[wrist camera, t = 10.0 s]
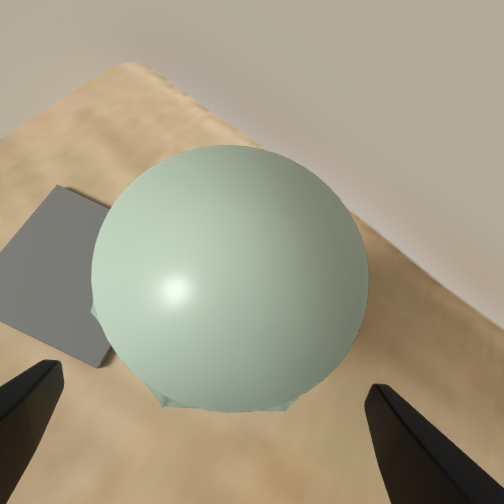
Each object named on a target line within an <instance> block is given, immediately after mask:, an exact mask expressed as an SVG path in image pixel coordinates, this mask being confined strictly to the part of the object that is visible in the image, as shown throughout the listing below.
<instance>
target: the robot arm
mask: <svg viewBox="0 0 504 504" xmlns="http://www.w3.org/2000/svg"><path fill="white" fill-rule="evenodd" d="M63 388H64V377H63V370H62V364H61V362H60V361H58V360H42V361H40V362H39V363H37V364H35V365H34V366H32V367H31V368H29V369H27V370H26V371H24V372H23V373H21V374H19V375H18V376H16V377H15V378H13V379H12V380H10V381H8V382H7V383H5V384H4V385H2V386H0V504H6V503H7V501H8V500H9V498H10V496H11V494H12V492H13V491H14V489H15V487H16V485H17V484H18V482H19V480H20V478H21V476H22V475H23V473H24V471H25V469H26V468H27V466H28V464H29V462H30V460H31V459H32V457H33V455H34V453H35V451H36V449H37V447H38V445H39V443H40V441H41V438H42V436H43V434H44V432H45V429H46V427H47V425H48V423H49V420H50V418H51V416H52V414H53V411H54V409H55V407H56V404H57V402H58V400H59V398H60V395H61V393H62V391H63ZM364 407H365V413H366V417H367V421H368V426H369V430H370V434H371V438H372V442H373V446H374V450H375V455H376V458H377V462H378V466H379V469H380V472H381V475H382V478H383V481H384V484H385V487H386V490H387V493H388V496H389V499H390V501H391V504H504V488H503V487H502V486H501V485H500V484H499V483H497V482H496V481H495V480H494V479H493V478H492V477H491V476H490V475H489V474H487V473H486V472H485V471H484V470H483V469H482V468H481V467H480V466H478V465H477V464H476V463H475V462H474V461H473V460H472V459H471V458H469V457H468V456H467V455H466V454H465V453H464V452H463V451H462V450H460V449H459V448H458V447H457V446H456V445H455V444H454V443H453V442H451V441H450V440H449V439H448V438H447V437H446V436H445V435H444V434H442V433H441V432H440V431H439V430H438V429H437V428H436V427H435V426H433V425H432V424H431V423H430V422H429V421H428V420H427V419H426V418H425V417H423V416H422V415H421V414H420V413H419V412H418V411H417V410H416V409H414V408H413V407H412V406H411V405H410V404H409V403H408V402H407V401H405V400H404V399H403V398H402V397H401V396H400V395H399V394H398V393H396V392H395V391H394V390H393V389H392V388H391V387H390V386H388V385H386V384H373V385H372V386H371V389H370V391H369V393H368V396H367V398H366V400H365V406H364Z"/></svg>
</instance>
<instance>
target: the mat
mask: <svg viewBox="0 0 504 504" xmlns="http://www.w3.org/2000/svg"><path fill="white" fill-rule="evenodd" d="M109 210H110V209H108V208H106V207H104V206H102V205H100V204H98V203H95V202H93V201H91V200H89V199H87V198H85V197H83V196H81V195H79V194H76V193H74V192H72V191H70V190H68V189H66V188H64V187H62V186H60V185H57V186H56V187H55V188H54V189H53V190H52V191H51V193H50V194H49V195H48V196H47V197H46V199H45V200H44V201H43V202H42V203H41V205H40V206H39V207H38V208H37V209H36V211H35V212H34V213H33V214H32V215H31V217H30V218H29V219H28V220H27V221H26V223H25V224H24V225H23V226H22V227H21V229H20V230H19V231H18V232H17V233H16V235H15V236H14V237H13V238H12V239H11V241H10V242H9V243H8V244H7V245H6V246H5V248H4V249H3V250H2V251H1V252H0V321H1V322H3V323H5V324H7V325H9V326H11V327H13V328H15V329H17V330H19V331H21V332H23V333H25V334H27V335H29V336H31V337H33V338H35V339H38V340H40V341H42V342H44V343H46V344H48V345H50V346H52V347H54V348H56V349H58V350H60V351H62V352H64V353H66V354H68V355H70V356H72V357H74V358H76V359H79V360H81V361H83V362H85V363H87V364H89V365H91V366H93V367H95V368H100V367H101V365H102V363H103V362H104V360H105V358H106V357H107V355H108V353H109V352H110V350H111V348H112V346H111V344H110V343H109V341H108V339H107V338H106V335H105V333H104V331H103V329H102V326H101V324H100V323H99V322H98V320H97V319H96V318H95V316H94V315H93V314H92V313H91V309H92V305H93V292H92V284H91V274H92V259H93V254H94V248H95V244H96V241H97V237H98V234H99V231H100V228H101V226H102V224H103V222H104V220H105V218H106V216H107V214H108V212H109Z"/></svg>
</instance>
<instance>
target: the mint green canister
mask: <svg viewBox="0 0 504 504" xmlns="http://www.w3.org/2000/svg"><path fill="white" fill-rule="evenodd" d="M91 284H92V292H93V305H92V309H91V313H92V314H93V315H94V316H95V318H96V319H97V320H98V322H99V323H100V324H101V326H102V329H103V331H104V333H105V335H106V338H107V339H108V341H109V343H110V344H111V346H112V347H113V349H114V350H115V352H116V353H117V355H118V356H119V358H120V359H121V360H122V361H123V362H124V363H125V364H126V366H127V367H128V368H129V369H130V370H131V371H132V372H133V373H134V374H135V375H136V376H138V377H139V378H140V379H141V380H142V381H143V382H144V383H145V384H146V385H147V387H148V388H149V389H150V391H151V392H152V393H153V394H154V396H155V397H156V398H157V400H158V401H159V402H160V404H161V405H162V407H163V408H164V407H173V408H199V409H203V410H208V411H217V412H226V413H233V412H251V411H284V412H286V410H287V409H288V408H289V407H290V406H291V405H292V404H293V403H294V402H295V401H296V400H297V398H298V397H299V396H300V395H302V394H304V393H306V392H307V391H309V390H310V389H312V388H313V387H314V386H316V385H317V384H319V383H320V382H321V381H323V380H324V379H325V378H326V377H327V376H328V375H329V374H330V373H331V372H332V371H333V370H334V369H335V368H336V367H337V366H338V364H339V363H340V362H341V361H342V359H343V358H344V357H345V355H346V354H347V353H348V351H349V349H350V348H351V346H352V344H353V342H354V341H355V339H356V337H357V334H358V332H359V331H360V327H361V324H362V322H363V319H364V315H365V311H366V307H367V301H368V292H369V270H368V263H367V256H366V252H365V248H364V245H363V241H362V238H361V235H360V233H359V231H358V228H357V226H356V224H355V222H354V220H353V218H352V216H351V215H350V213H349V211H348V210H347V208H346V207H345V205H344V204H343V203H342V202H341V200H340V198H339V197H338V196H337V195H336V194H335V193H334V192H333V191H332V190H331V188H330V187H329V186H327V185H326V184H325V183H324V182H323V181H322V180H321V179H320V178H319V177H317V176H316V175H315V174H313V173H312V172H310V171H309V170H308V169H306V168H305V167H303V166H301V165H299V164H298V163H296V162H294V161H292V160H290V159H288V158H286V157H283V156H281V155H279V154H276V153H273V152H269V151H266V150H263V149H258V148H253V147H247V146H236V145H218V146H209V147H202V148H197V149H193V150H189V151H185V152H182V153H180V154H177V155H174V156H172V157H169V158H167V159H165V160H163V161H162V162H160V163H158V164H156V165H154V166H153V167H151V168H150V169H148V170H147V171H145V172H144V173H143V174H141V175H140V176H139V177H138V178H137V179H135V180H134V181H133V182H132V183H131V184H130V185H129V186H128V187H127V188H126V189H125V190H124V191H123V193H122V194H121V195H120V196H119V197H118V198H117V200H116V201H115V203H114V204H113V206H112V207H111V209H110V210H109V212H108V214H107V216H106V218H105V220H104V222H103V224H102V226H101V228H100V231H99V234H98V237H97V241H96V244H95V248H94V254H93V259H92V274H91Z"/></svg>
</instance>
